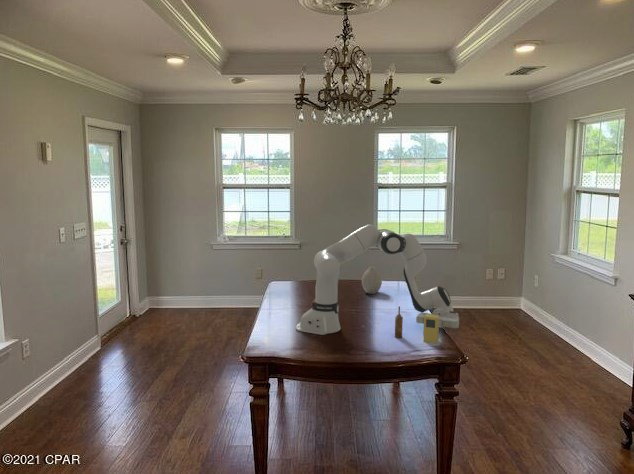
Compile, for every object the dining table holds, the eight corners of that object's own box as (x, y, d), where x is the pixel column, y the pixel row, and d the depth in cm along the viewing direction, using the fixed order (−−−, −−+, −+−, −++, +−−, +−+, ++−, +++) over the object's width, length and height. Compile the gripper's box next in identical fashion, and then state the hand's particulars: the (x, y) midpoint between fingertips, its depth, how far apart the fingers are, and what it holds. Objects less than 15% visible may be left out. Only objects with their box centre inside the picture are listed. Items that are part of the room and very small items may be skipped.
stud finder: (425, 338, 224) (426, 313, 222) (438, 340, 221) (439, 315, 219) (423, 341, 220) (424, 316, 218) (436, 343, 218) (437, 318, 216)
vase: (365, 295, 303) (365, 269, 301) (359, 290, 316) (359, 265, 313) (384, 294, 306) (384, 269, 303) (377, 289, 318) (378, 264, 316)
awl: (394, 338, 225) (395, 307, 223) (395, 335, 228) (396, 305, 226) (401, 338, 224) (402, 308, 222) (402, 336, 227) (403, 305, 225)
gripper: (419, 308, 243) (413, 315, 231) (461, 313, 234) (456, 321, 222) (419, 320, 244) (412, 328, 232) (460, 325, 235) (456, 334, 223)
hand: (434, 325), depth 227 cm, fingers closed
